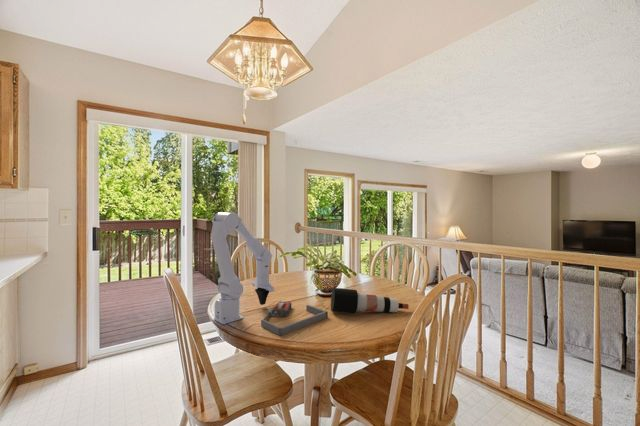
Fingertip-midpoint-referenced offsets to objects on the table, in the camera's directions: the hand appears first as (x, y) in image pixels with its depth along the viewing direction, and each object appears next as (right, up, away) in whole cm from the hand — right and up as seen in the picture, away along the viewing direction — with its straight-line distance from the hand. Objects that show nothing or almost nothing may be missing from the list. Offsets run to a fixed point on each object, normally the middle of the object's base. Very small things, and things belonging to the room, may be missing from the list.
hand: (262, 304), depth 136 cm
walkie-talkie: (+8, -3, -8) cm, 12 cm away
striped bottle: (+49, -3, -5) cm, 49 cm away
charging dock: (+16, -2, -16) cm, 23 cm away
